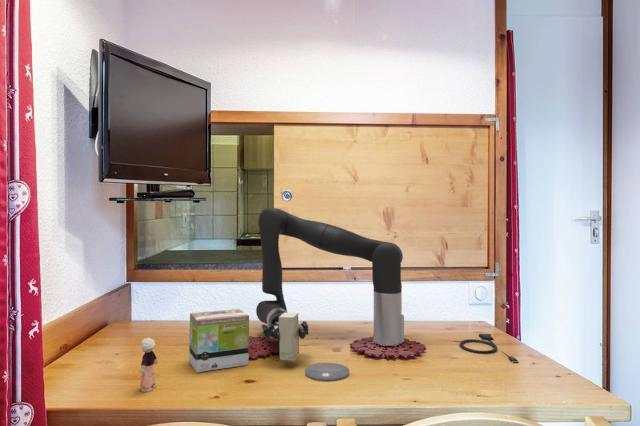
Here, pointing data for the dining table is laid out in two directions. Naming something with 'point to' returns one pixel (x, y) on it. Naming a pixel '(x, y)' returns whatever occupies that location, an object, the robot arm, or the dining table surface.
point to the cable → (485, 337)
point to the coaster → (327, 371)
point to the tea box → (218, 339)
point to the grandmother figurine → (148, 366)
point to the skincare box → (289, 336)
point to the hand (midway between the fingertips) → (290, 336)
